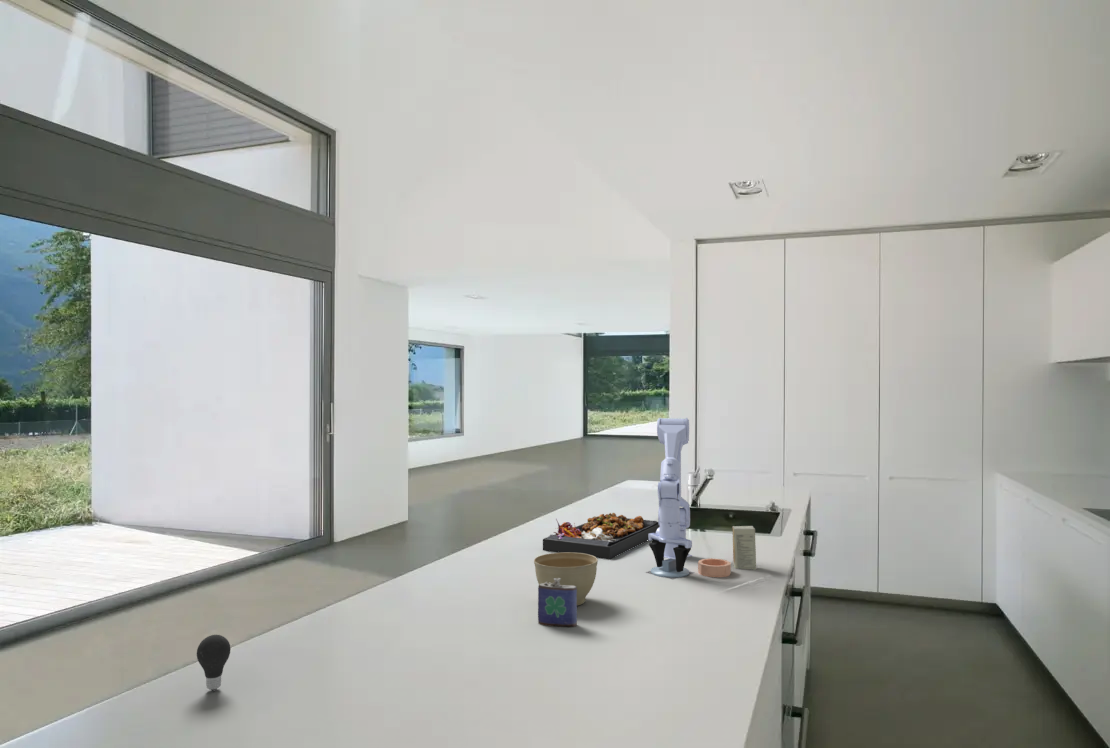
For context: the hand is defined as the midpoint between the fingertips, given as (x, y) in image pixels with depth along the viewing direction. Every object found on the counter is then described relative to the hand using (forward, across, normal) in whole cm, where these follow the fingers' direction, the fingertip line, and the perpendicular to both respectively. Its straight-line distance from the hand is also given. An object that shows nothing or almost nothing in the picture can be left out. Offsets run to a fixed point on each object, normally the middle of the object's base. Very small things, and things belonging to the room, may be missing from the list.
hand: (669, 568), depth 211 cm
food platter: (+2, -42, +18) cm, 46 cm away
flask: (+2, +10, -53) cm, 54 cm away
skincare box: (+2, +11, +21) cm, 24 cm away
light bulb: (+2, -6, -123) cm, 123 cm away
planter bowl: (+2, -1, -40) cm, 40 cm away
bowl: (+1, +9, +9) cm, 13 cm away
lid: (+1, 0, 0) cm, 1 cm away
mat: (+1, 0, 0) cm, 1 cm away
